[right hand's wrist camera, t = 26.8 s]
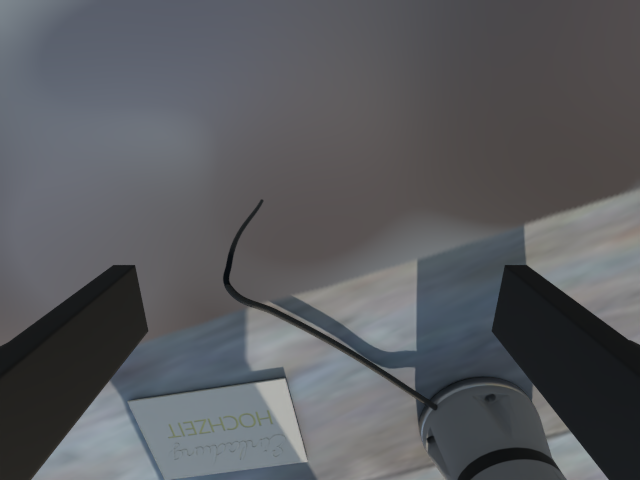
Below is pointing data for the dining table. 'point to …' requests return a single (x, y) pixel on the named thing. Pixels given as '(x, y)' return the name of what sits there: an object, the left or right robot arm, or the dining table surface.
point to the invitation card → (221, 429)
